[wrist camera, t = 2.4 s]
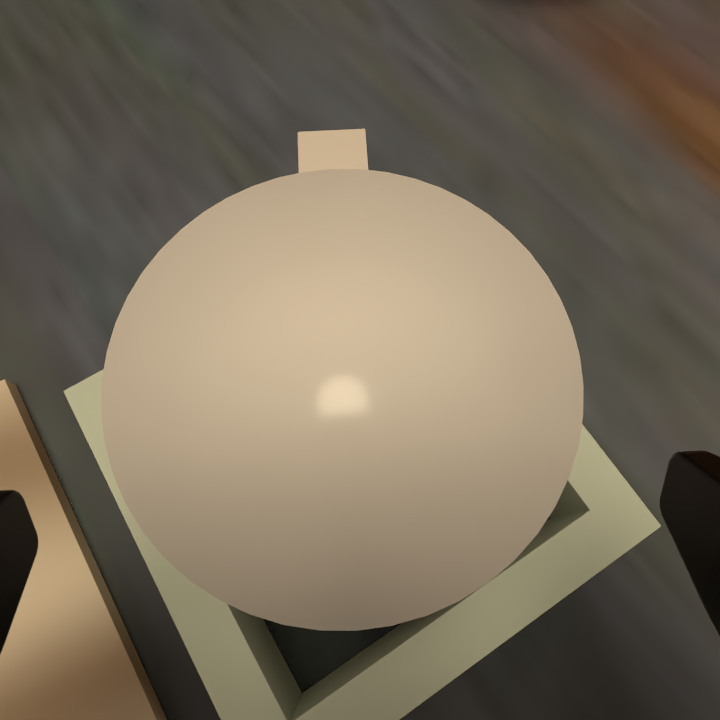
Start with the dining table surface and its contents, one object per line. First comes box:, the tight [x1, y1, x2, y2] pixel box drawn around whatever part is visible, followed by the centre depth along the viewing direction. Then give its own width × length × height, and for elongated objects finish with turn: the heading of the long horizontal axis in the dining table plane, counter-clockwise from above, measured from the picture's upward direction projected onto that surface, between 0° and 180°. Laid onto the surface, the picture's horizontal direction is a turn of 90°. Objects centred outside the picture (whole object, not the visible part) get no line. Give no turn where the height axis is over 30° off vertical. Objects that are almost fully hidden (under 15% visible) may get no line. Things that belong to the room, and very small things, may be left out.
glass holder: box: [64, 369, 661, 720], centre depth 16 cm, size 11×11×3 cm
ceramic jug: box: [101, 129, 583, 631], centre depth 13 cm, size 8×6×10 cm
